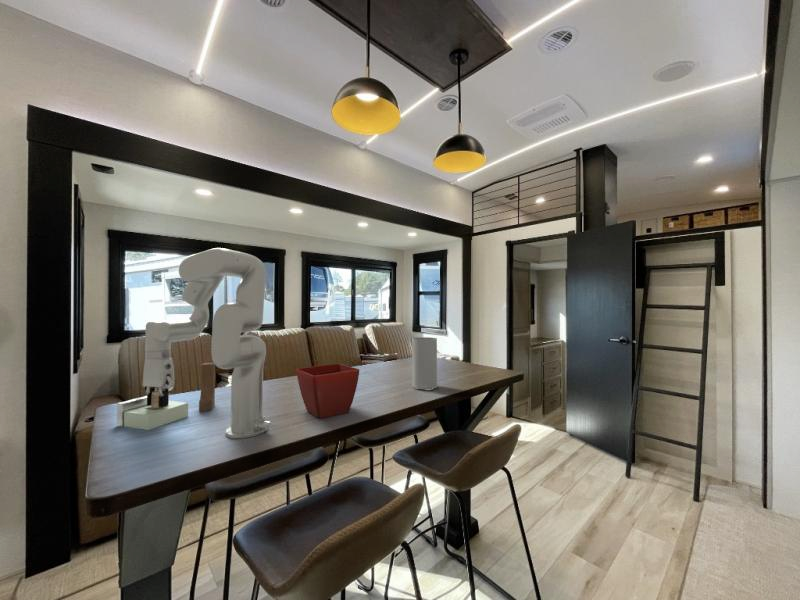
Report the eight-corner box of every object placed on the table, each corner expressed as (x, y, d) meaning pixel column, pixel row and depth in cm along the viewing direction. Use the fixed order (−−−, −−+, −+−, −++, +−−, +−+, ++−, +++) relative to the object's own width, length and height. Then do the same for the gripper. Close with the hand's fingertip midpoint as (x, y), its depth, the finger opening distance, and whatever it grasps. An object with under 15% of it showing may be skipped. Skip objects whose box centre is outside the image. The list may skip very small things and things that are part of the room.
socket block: (188, 416, 122) (188, 402, 122) (147, 430, 108) (148, 415, 109) (165, 413, 126) (165, 400, 126) (124, 426, 112) (124, 411, 112)
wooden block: (211, 411, 129) (212, 365, 129) (198, 412, 127) (199, 366, 127) (214, 405, 137) (215, 362, 138) (202, 406, 135) (202, 363, 136)
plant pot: (295, 410, 130) (295, 368, 130) (338, 401, 141) (338, 362, 141) (313, 423, 114) (313, 375, 115) (360, 413, 126) (360, 369, 126)
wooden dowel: (167, 418, 118) (168, 390, 118) (155, 422, 114) (157, 393, 115) (159, 416, 119) (160, 389, 120) (147, 420, 116) (149, 392, 116)
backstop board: (165, 413, 126) (165, 392, 126) (122, 427, 112) (122, 403, 112) (160, 413, 127) (160, 392, 127) (117, 426, 113) (117, 403, 113)
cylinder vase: (438, 390, 159) (438, 339, 159) (413, 390, 159) (412, 339, 159) (435, 384, 171) (435, 337, 172) (411, 384, 171) (411, 337, 172)
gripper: (185, 354, 119) (185, 404, 118) (152, 352, 124) (151, 400, 123) (165, 357, 111) (164, 410, 111) (130, 355, 117) (129, 406, 116)
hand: (157, 405), depth 117 cm, fingers open, 5 cm apart
